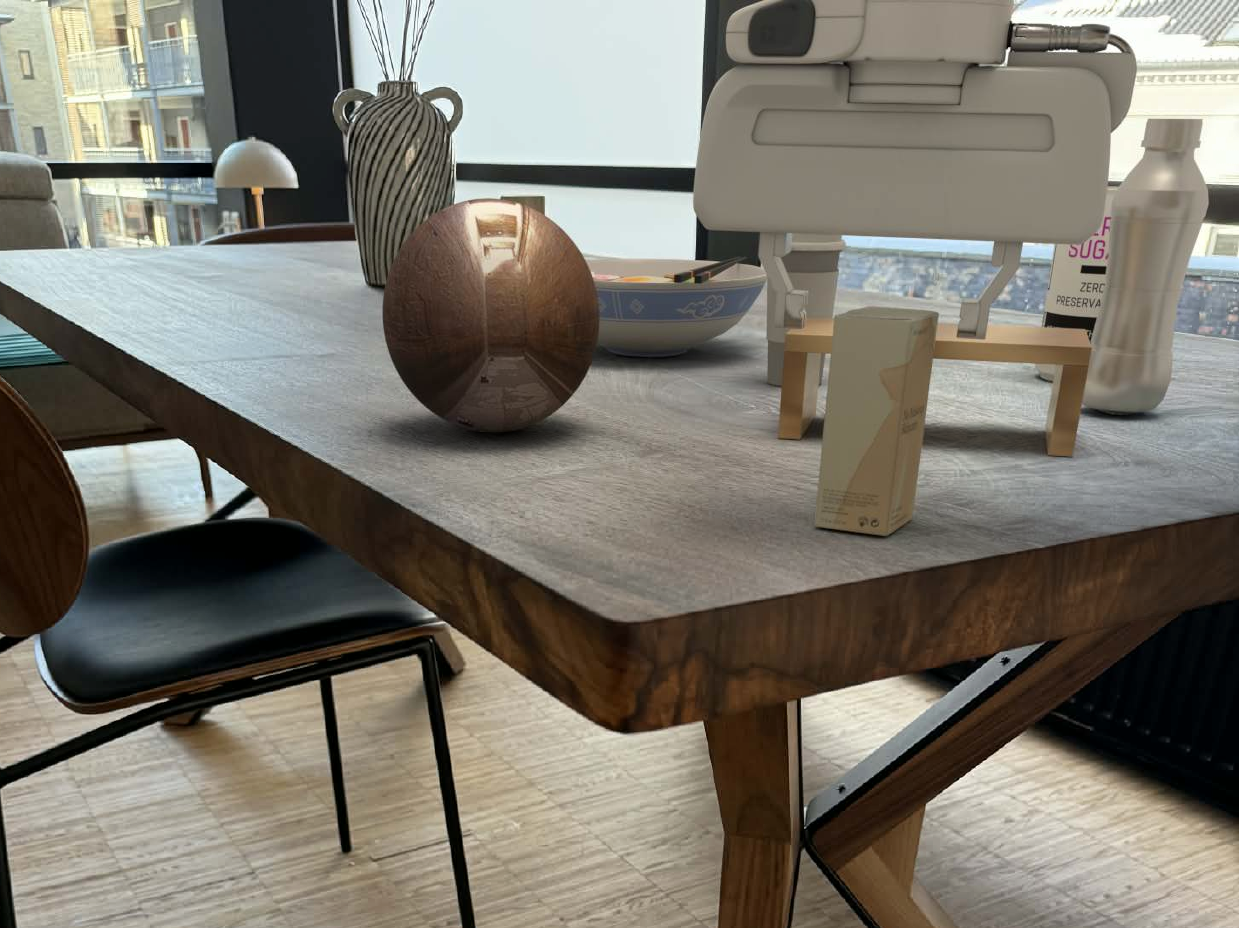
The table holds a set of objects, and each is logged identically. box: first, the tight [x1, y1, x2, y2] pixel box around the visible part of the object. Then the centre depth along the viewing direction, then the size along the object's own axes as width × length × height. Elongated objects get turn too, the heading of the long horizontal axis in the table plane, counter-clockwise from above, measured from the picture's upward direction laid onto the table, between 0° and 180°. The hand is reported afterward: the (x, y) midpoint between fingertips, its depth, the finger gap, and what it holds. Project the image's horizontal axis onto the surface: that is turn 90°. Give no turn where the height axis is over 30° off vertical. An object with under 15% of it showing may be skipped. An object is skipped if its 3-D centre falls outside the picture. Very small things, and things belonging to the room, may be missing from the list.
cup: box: [765, 233, 847, 387], centre depth 113 cm, size 7×7×12 cm
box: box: [814, 305, 940, 537], centre depth 73 cm, size 5×4×11 cm
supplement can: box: [1034, 185, 1119, 382], centre depth 115 cm, size 8×8×15 cm
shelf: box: [777, 317, 1092, 458], centre depth 95 cm, size 20×9×7 cm, turn 75°
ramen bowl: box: [585, 256, 767, 358], centre depth 128 cm, size 25×23×8 cm
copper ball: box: [381, 197, 600, 434], centre depth 93 cm, size 15×15×15 cm
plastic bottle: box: [1082, 118, 1209, 415], centre depth 100 cm, size 6×7×20 cm
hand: (878, 332), depth 71 cm, fingers open, 8 cm apart
